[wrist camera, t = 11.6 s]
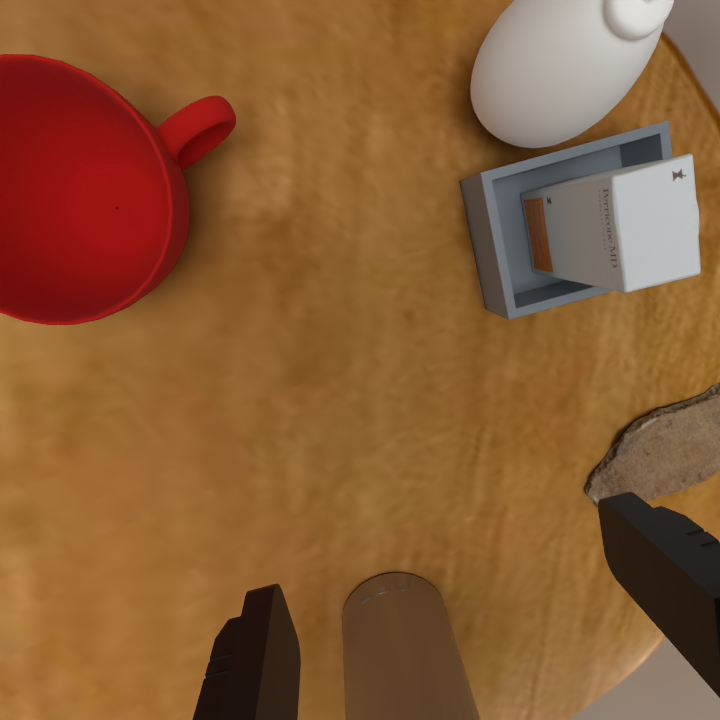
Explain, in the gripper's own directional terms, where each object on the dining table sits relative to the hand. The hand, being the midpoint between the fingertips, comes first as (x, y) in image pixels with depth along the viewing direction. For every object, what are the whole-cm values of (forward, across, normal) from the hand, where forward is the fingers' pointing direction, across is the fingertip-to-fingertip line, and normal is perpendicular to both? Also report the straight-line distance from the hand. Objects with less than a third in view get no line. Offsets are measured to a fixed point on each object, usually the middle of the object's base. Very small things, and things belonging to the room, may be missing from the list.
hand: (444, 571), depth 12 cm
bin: (+26, -16, -6) cm, 31 cm away
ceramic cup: (+27, +12, -15) cm, 33 cm away
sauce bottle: (+26, -14, -15) cm, 33 cm away
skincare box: (+26, -16, -6) cm, 31 cm away
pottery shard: (+27, -23, +15) cm, 38 cm away
